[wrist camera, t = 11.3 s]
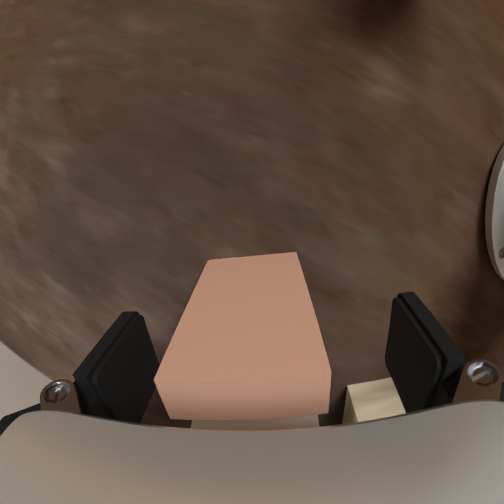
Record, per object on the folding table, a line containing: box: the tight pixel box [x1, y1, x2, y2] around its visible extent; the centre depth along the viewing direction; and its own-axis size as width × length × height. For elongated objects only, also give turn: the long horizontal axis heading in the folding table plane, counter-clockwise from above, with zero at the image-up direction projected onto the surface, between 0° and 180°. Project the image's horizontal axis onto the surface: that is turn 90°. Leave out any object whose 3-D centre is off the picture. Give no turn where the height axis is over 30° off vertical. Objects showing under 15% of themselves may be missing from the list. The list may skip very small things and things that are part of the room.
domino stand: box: [342, 377, 406, 424], centre depth 19 cm, size 7×8×5 cm
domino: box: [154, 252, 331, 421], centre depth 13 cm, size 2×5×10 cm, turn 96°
